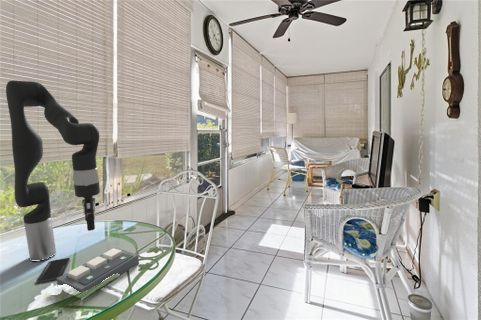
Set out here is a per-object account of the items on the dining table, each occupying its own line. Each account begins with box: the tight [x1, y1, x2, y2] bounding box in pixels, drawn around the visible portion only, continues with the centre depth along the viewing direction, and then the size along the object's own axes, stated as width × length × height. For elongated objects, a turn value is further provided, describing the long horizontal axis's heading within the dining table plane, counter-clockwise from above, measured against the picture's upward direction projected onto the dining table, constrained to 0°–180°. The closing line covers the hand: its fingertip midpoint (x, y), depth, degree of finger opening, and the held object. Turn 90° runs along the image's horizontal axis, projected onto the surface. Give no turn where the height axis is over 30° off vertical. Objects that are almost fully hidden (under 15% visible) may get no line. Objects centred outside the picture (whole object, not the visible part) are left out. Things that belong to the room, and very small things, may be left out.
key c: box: [102, 247, 122, 261], centre depth 106 cm, size 5×5×2 cm
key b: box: [85, 255, 107, 270], centre depth 100 cm, size 5×5×2 cm
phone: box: [36, 257, 71, 284], centre depth 103 cm, size 8×1×15 cm
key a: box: [67, 264, 90, 281], centre depth 93 cm, size 5×5×2 cm
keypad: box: [56, 247, 140, 292], centre depth 99 cm, size 14×24×4 cm, turn 154°
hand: (91, 225), depth 92 cm, fingers open, 8 cm apart
